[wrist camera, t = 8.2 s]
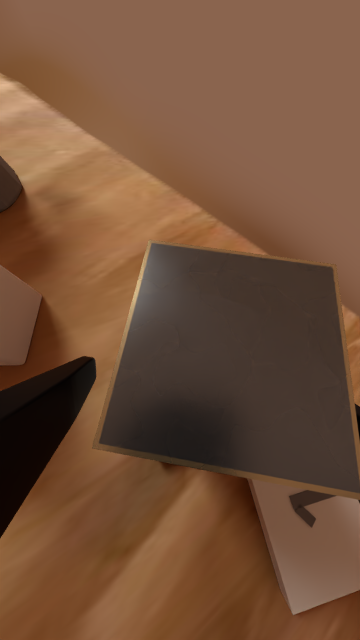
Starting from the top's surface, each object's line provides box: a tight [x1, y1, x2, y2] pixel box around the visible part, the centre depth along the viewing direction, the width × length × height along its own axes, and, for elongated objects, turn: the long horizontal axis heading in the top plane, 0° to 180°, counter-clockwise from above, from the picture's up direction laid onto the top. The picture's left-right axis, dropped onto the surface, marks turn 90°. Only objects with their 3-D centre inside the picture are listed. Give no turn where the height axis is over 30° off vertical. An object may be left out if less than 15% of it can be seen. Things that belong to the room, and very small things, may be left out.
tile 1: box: [247, 478, 360, 615], centre depth 14 cm, size 9×9×2 cm
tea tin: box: [92, 240, 360, 500], centre depth 10 cm, size 5×5×12 cm
